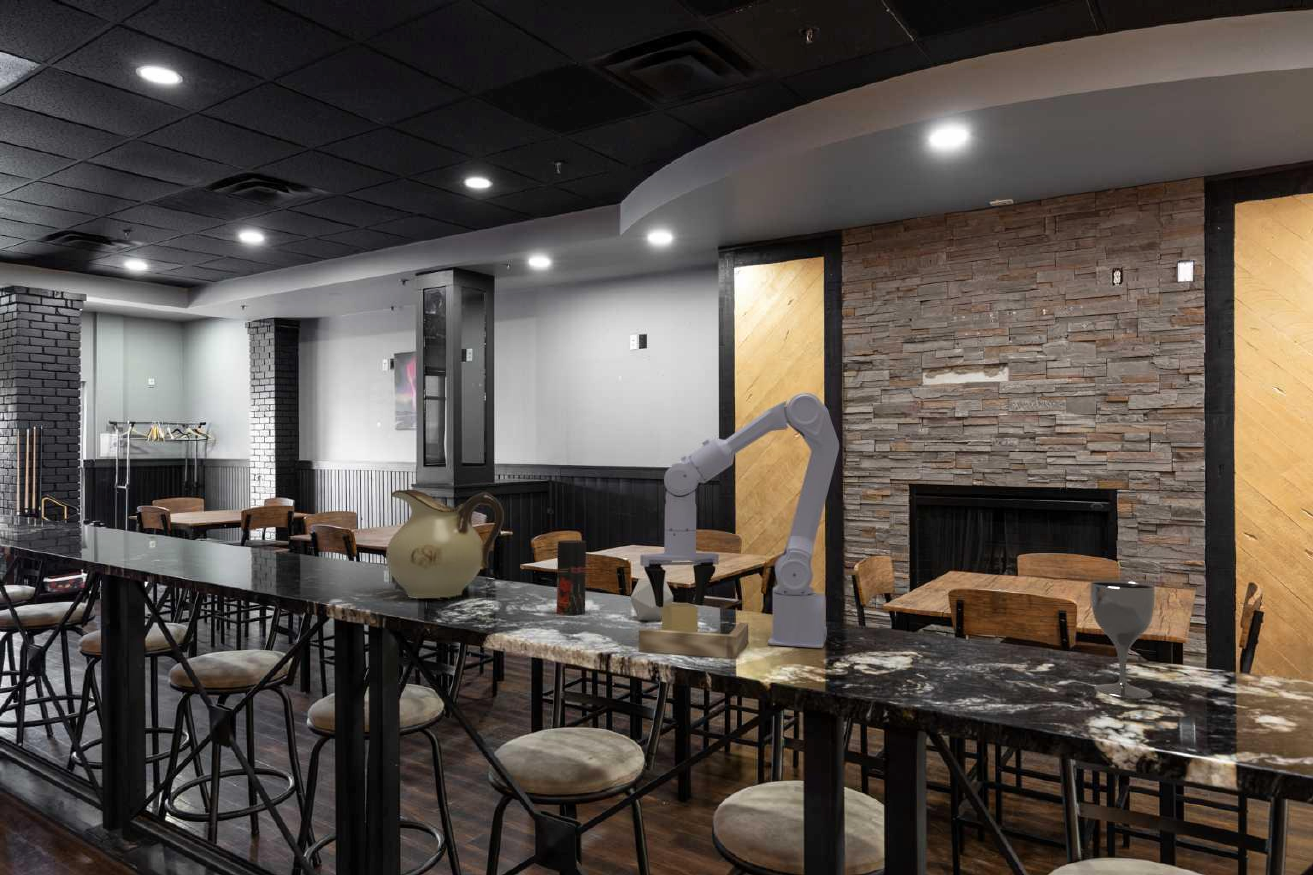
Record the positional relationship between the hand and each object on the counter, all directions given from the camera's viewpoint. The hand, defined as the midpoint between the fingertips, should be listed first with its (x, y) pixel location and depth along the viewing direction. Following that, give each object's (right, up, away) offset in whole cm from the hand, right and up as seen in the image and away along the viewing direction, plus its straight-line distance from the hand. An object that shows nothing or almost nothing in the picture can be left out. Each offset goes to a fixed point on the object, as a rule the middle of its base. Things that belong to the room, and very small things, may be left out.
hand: (679, 605), depth 148 cm
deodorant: (-22, -7, +25) cm, 34 cm away
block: (0, -6, 0) cm, 6 cm away
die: (-5, -7, +19) cm, 21 cm away
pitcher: (-56, -7, +45) cm, 72 cm away
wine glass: (+62, -6, -33) cm, 70 cm away
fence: (+2, -6, -8) cm, 10 cm away
